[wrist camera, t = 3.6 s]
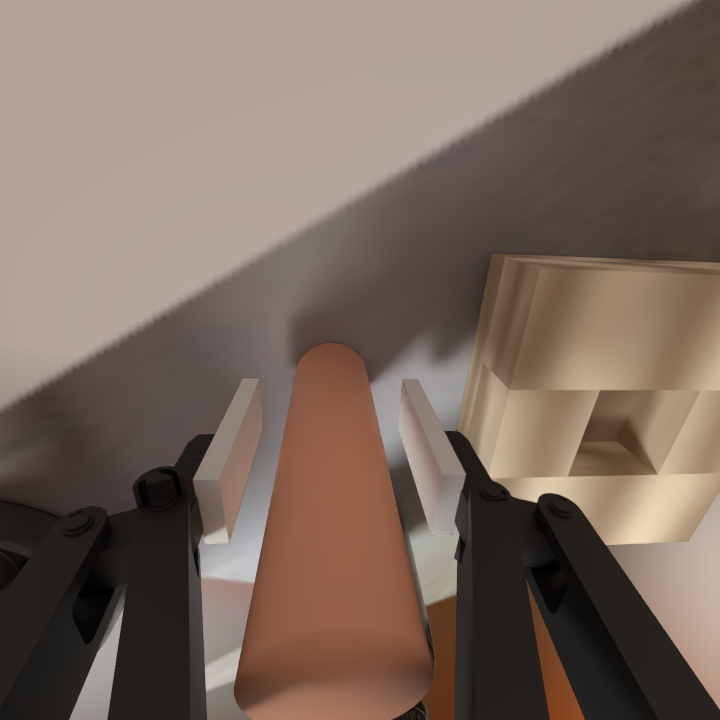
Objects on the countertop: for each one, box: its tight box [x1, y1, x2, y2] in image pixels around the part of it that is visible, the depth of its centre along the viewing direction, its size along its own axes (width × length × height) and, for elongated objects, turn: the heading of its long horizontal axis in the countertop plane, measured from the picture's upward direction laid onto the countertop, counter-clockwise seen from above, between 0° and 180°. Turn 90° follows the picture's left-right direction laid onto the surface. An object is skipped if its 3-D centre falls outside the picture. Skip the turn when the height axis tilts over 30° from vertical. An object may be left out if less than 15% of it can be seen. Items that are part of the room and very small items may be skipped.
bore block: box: [457, 254, 720, 545], centre depth 19 cm, size 14×16×4 cm
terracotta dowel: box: [234, 343, 433, 720], centre depth 13 cm, size 4×4×14 cm
